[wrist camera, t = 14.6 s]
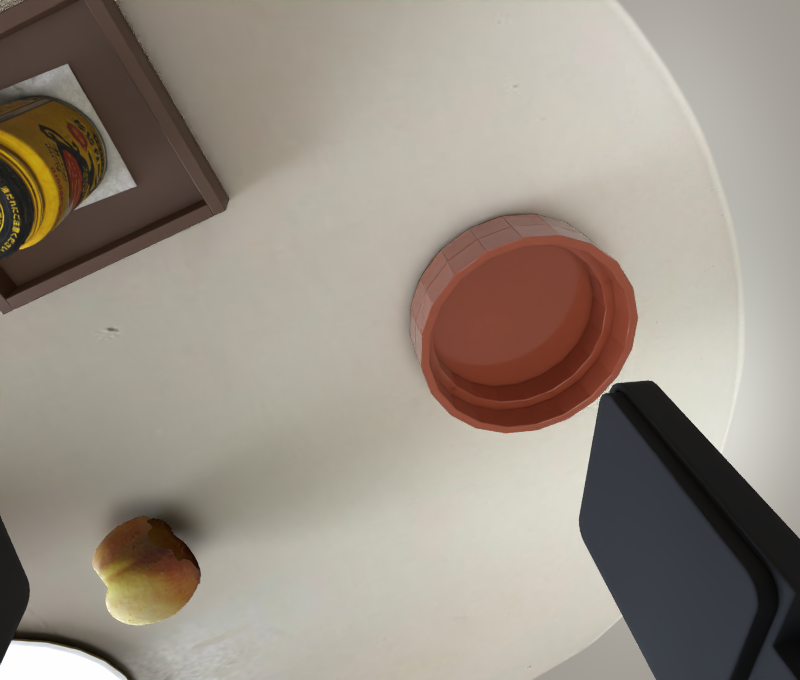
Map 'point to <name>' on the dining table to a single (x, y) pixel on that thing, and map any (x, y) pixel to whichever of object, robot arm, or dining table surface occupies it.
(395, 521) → the dining table surface
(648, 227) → the dining table surface
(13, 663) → the plate
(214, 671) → the dining table surface
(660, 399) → the robot arm
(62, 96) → the condiment
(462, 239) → the bowl
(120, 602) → the fruit
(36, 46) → the tray
